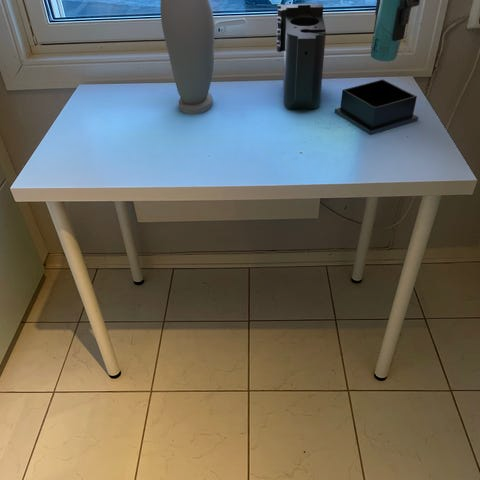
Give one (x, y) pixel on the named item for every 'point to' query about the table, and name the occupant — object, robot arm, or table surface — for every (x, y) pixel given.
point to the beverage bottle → (385, 32)
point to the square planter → (377, 106)
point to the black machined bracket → (301, 53)
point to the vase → (190, 50)
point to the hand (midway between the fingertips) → (388, 35)
